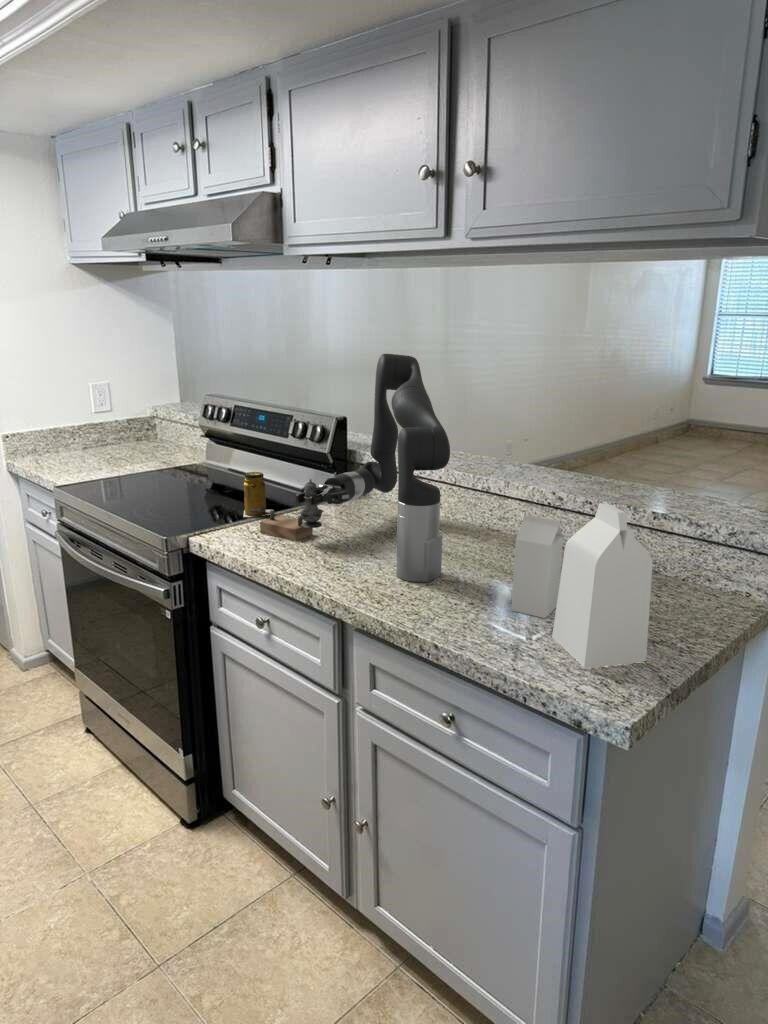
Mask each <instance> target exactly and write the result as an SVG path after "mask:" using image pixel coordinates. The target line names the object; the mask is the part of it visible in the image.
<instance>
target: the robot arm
mask: <svg viewBox="0 0 768 1024" xmlns="http://www.w3.org/2000/svg"><path fill="white" fill-rule="evenodd" d="M374 385H375V387H374V408H373V409H374V412H373V413H374V414H373V432H372V435H371V436H372V439H371V442H370V443H371V444H370V450H369V451H370V456H371V458H372V459H373V460H374V461H372V460H371V461H367V462H365V463H364V464H363V465H361V466H360V467H359V468H358V469H357V470H353V471H347V472H343V473H339V474H335V475H332V476H329V477H328V478H327V479H326V480H325V481H324V483H323V484H319V485H316V495H314V496H310V497H309V505H312V506H313V505H316V504H317V505H318V504H322V505H324V504H328V505H341V504H344V503H347V502H349V501H354V500H356V499H357V498H359V497H362V496H364V495H367V494H369V493H371V492H372V491H373V490H374V489H375V490H377V491H379V492H380V493H383V494H387V493H390V492H391V491H393V490H394V488H395V487H396V485H397V483H398V485H397V487H398V488H397V526H396V529H397V530H396V564H395V566H396V567H395V568H396V569H395V570H396V573H395V575H396V577H397V578H399V579H401V580H404V581H408V582H416V583H417V582H419V583H420V582H422V583H430V582H431V581H433V580H434V579H437V578H438V577H440V576H441V575H442V562H443V561H442V560H443V559H442V557H443V555H442V554H443V534H442V533H440V518H441V517H440V514H441V513H440V512H441V511H440V510H441V489H439V487H438V486H436V485H434V484H431V483H428V482H425V481H422V480H421V479H419V478H417V477H416V476H415V471H438V470H442V469H444V468H445V467H447V465H448V464H449V461H450V458H451V446H450V441H449V437H448V435H447V432H446V431H445V428H444V427H443V425H442V423H441V421H440V420H439V419H438V418H437V415H436V413H435V411H434V408H433V404H432V402H431V399H430V396H429V394H428V393H427V390H426V388H425V385H424V383H423V377H422V372H421V366H420V363H419V362H418V360H417V358H416V357H415V356H412V355H405V354H397V353H396V354H394V353H382V354H381V355H380V356H379V358H378V361H377V364H376V372H375V384H374ZM387 391H394V392H393V395H392V397H391V401H390V402H391V409H392V411H391V409H390V406H389V404H388V399H387V396H388V395H387V393H388V392H387ZM392 412H393V413H392ZM398 425H399V426H400V427H401V429H400V430H399V429H398ZM396 450H397V457H396ZM397 464H398V465H397ZM304 496H305V486H303V487H302V488H300V491H299V493H297V494H296V495H295V503H296V504H301V503H305V498H304Z"/></svg>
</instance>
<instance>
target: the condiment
mask: <svg viewBox="0 0 768 1024" xmlns="http://www.w3.org/2000/svg"><path fill="white" fill-rule="evenodd" d="M266 494H267V493H266V482H265V479H264V473H263V472H259V471H249V472H245V474H244V483H243V497H244V499H243V500H244V510H243V518H259V517H263V516H262V515H265V514H267V513H270V510H271V509H267V502H266V501H267V500H266ZM264 517H270V516H269V515H267V516H266V515H265V516H264Z"/></svg>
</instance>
